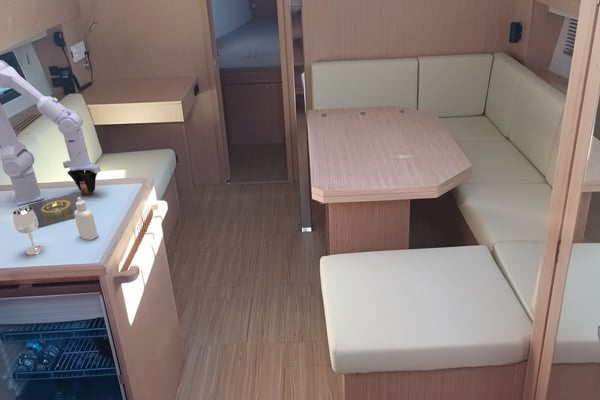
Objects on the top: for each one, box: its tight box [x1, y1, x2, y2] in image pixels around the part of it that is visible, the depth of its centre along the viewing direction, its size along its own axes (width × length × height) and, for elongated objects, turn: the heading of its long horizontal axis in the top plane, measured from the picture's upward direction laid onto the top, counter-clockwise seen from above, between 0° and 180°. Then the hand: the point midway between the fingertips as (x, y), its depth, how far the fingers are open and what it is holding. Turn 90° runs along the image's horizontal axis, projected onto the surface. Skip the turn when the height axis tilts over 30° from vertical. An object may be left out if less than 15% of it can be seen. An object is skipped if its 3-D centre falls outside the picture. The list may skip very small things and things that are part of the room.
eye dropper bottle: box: [74, 196, 99, 241], centre depth 153 cm, size 4×6×12 cm
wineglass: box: [12, 206, 45, 256], centre depth 148 cm, size 6×6×12 cm
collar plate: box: [27, 192, 78, 229], centre depth 172 cm, size 18×14×2 cm
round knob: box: [79, 179, 95, 197], centre depth 182 cm, size 4×4×5 cm
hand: (87, 190), depth 182 cm, fingers closed on round knob, 4 cm apart
